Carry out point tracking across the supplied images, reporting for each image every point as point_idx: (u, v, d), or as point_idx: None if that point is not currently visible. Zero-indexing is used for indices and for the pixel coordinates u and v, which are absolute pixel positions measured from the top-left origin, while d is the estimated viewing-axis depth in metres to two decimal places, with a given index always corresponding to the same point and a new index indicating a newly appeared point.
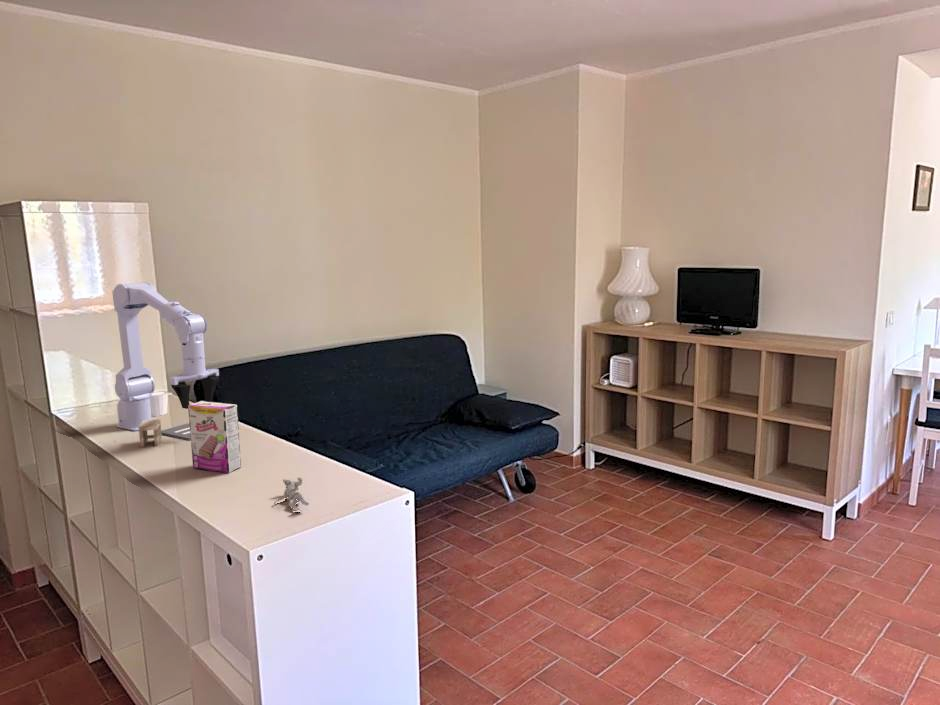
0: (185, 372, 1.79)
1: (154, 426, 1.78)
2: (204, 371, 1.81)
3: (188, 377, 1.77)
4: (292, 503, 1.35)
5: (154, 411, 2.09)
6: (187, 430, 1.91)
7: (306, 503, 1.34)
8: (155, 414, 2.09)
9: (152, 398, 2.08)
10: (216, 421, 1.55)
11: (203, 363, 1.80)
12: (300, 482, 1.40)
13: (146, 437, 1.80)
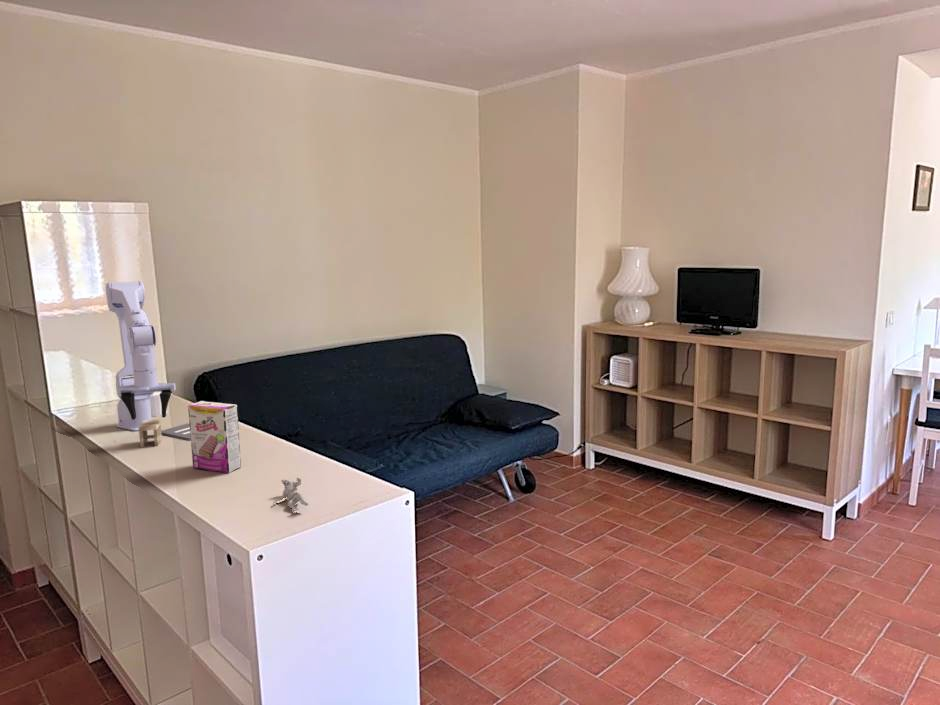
0: None
1: (154, 426, 1.78)
2: (149, 385, 1.76)
3: (130, 388, 1.75)
4: (291, 503, 1.35)
5: (154, 411, 2.09)
6: (187, 430, 1.91)
7: (305, 503, 1.34)
8: (155, 414, 2.09)
9: (152, 398, 2.08)
10: (216, 421, 1.55)
11: (147, 376, 1.76)
12: (299, 482, 1.39)
13: (146, 437, 1.80)
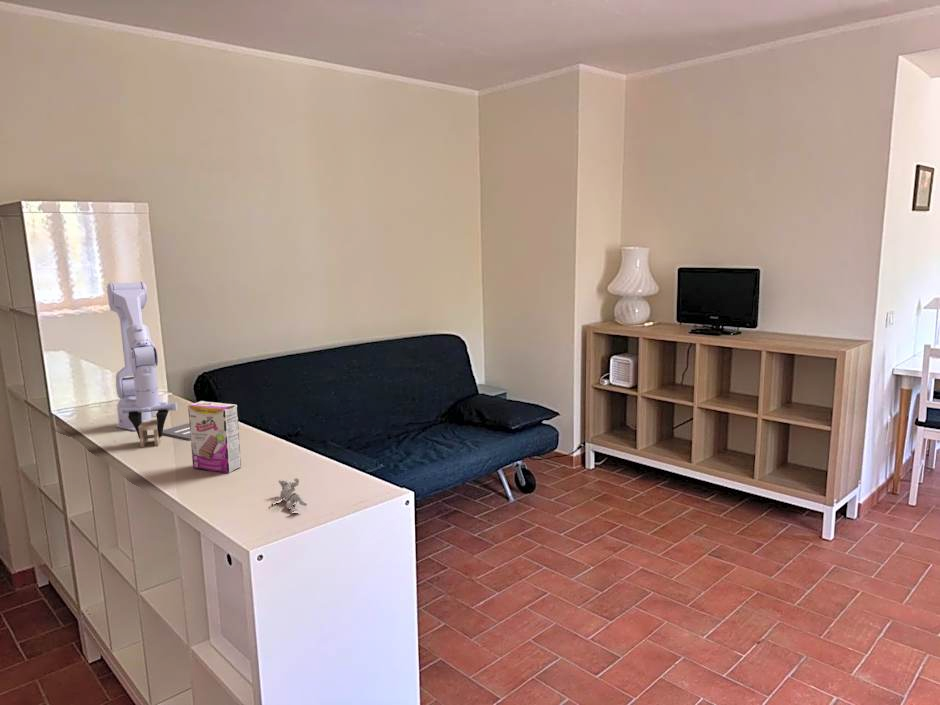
0: None
1: (154, 426, 1.77)
2: (150, 404, 1.77)
3: (132, 408, 1.76)
4: (290, 504, 1.35)
5: (154, 411, 2.09)
6: (187, 430, 1.91)
7: (304, 504, 1.34)
8: (155, 414, 2.09)
9: None
10: (216, 421, 1.55)
11: (149, 396, 1.76)
12: (297, 483, 1.39)
13: (146, 437, 1.80)
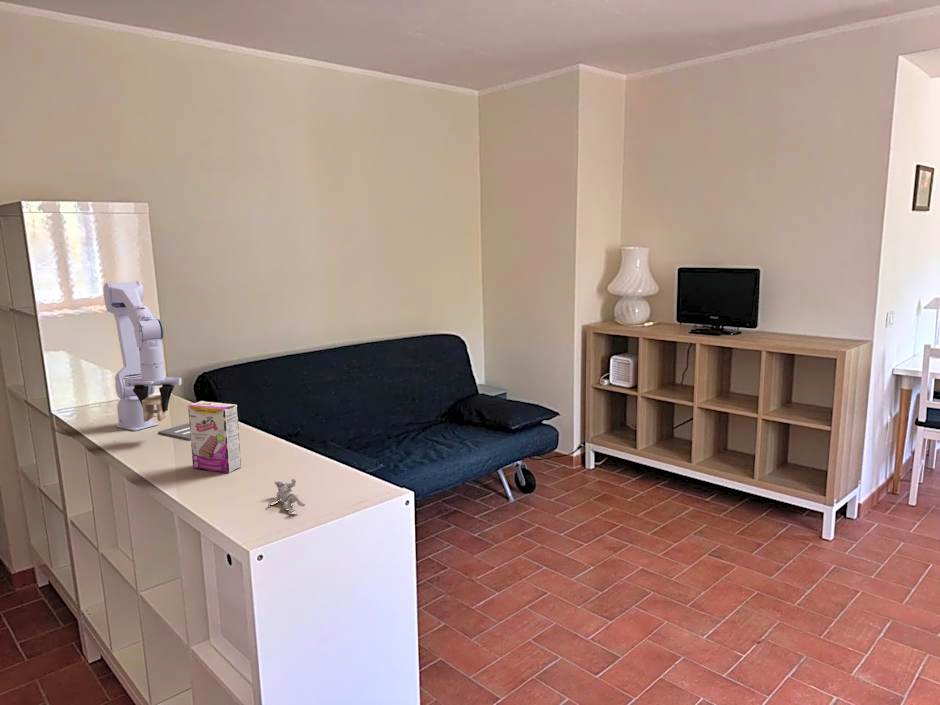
0: None
1: (157, 401, 1.78)
2: (154, 378, 1.78)
3: (136, 381, 1.78)
4: (287, 505, 1.35)
5: None
6: (187, 430, 1.91)
7: (302, 504, 1.33)
8: (155, 414, 2.09)
9: None
10: (216, 421, 1.55)
11: (152, 370, 1.77)
12: (294, 483, 1.39)
13: (151, 411, 1.81)
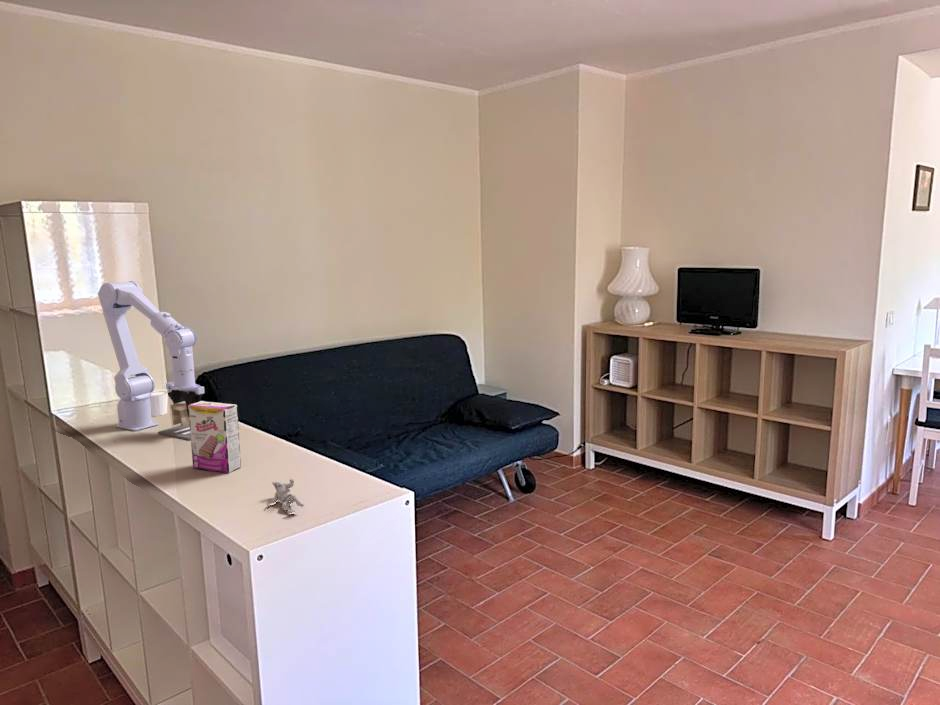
0: None
1: (179, 407, 1.86)
2: (179, 385, 1.86)
3: (170, 386, 1.89)
4: (286, 505, 1.34)
5: (154, 411, 2.09)
6: (187, 430, 1.91)
7: (301, 504, 1.33)
8: (155, 414, 2.09)
9: (152, 398, 2.08)
10: (216, 421, 1.55)
11: (178, 377, 1.86)
12: (292, 484, 1.39)
13: None
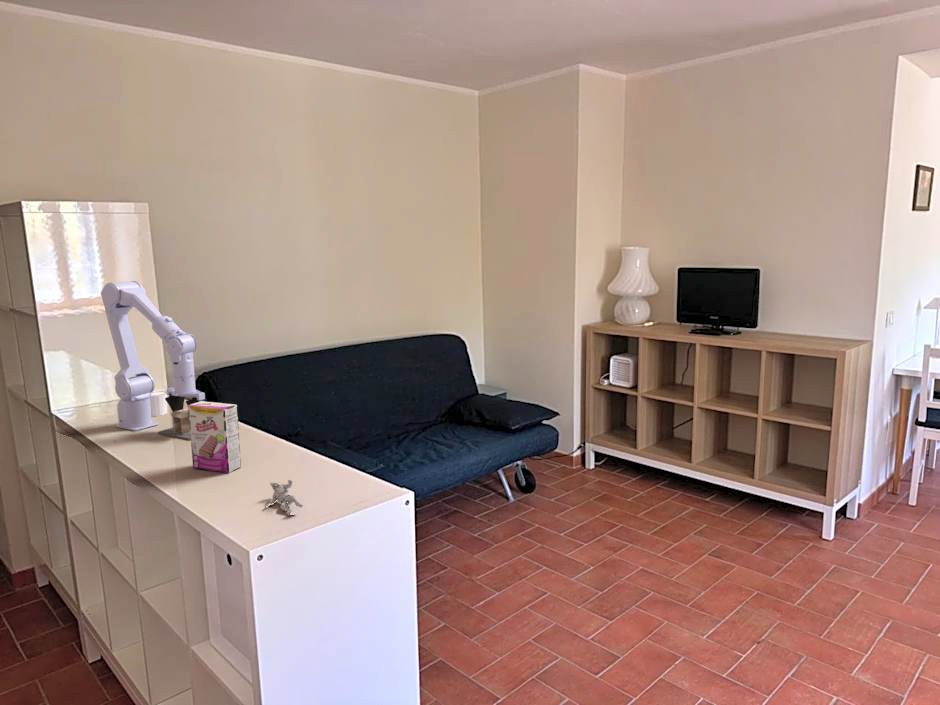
0: None
1: (180, 415, 1.86)
2: (180, 391, 1.86)
3: (171, 391, 1.89)
4: (285, 506, 1.34)
5: (154, 411, 2.09)
6: None
7: (300, 505, 1.33)
8: (155, 414, 2.09)
9: (152, 398, 2.08)
10: (216, 421, 1.55)
11: (178, 383, 1.86)
12: (290, 484, 1.38)
13: None
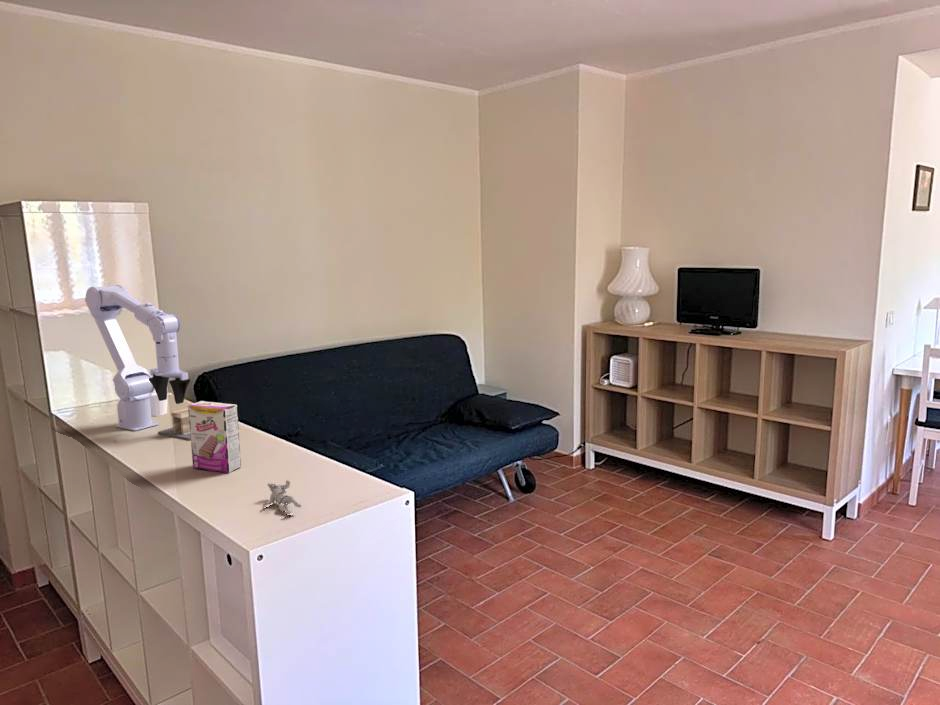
0: None
1: (180, 415, 1.86)
2: (163, 371, 1.86)
3: (154, 372, 1.89)
4: (283, 506, 1.34)
5: (154, 411, 2.09)
6: None
7: (299, 505, 1.33)
8: (155, 414, 2.09)
9: (152, 398, 2.08)
10: (216, 421, 1.55)
11: (162, 363, 1.85)
12: (288, 485, 1.38)
13: None
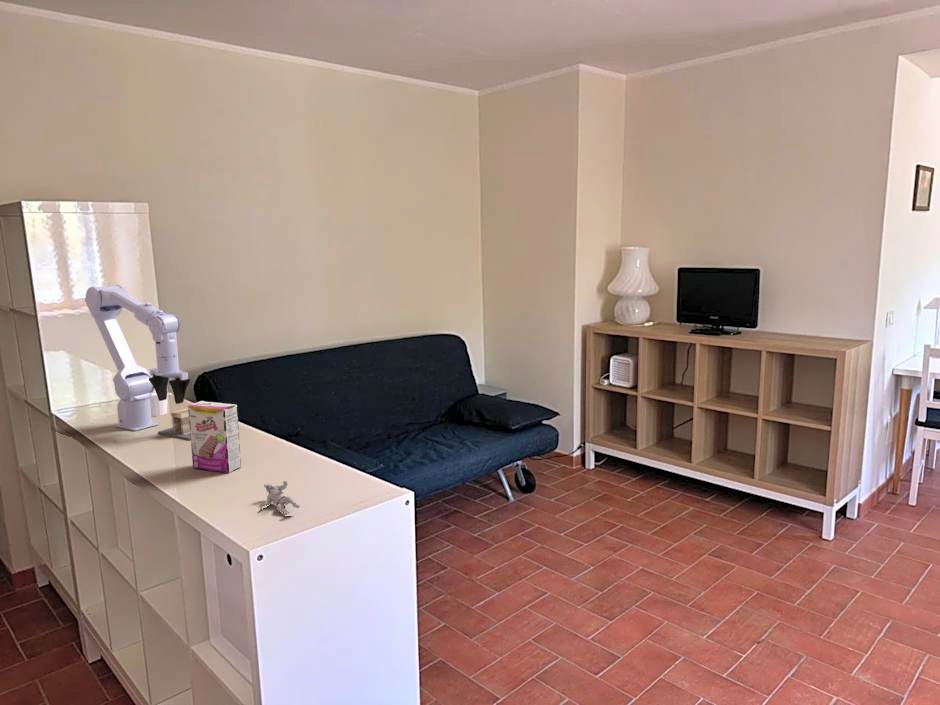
0: None
1: (180, 415, 1.86)
2: (163, 370, 1.86)
3: (154, 372, 1.89)
4: (281, 507, 1.33)
5: (154, 411, 2.09)
6: None
7: (297, 506, 1.32)
8: (155, 414, 2.09)
9: (152, 398, 2.08)
10: (216, 421, 1.55)
11: (161, 363, 1.85)
12: (285, 486, 1.38)
13: None
